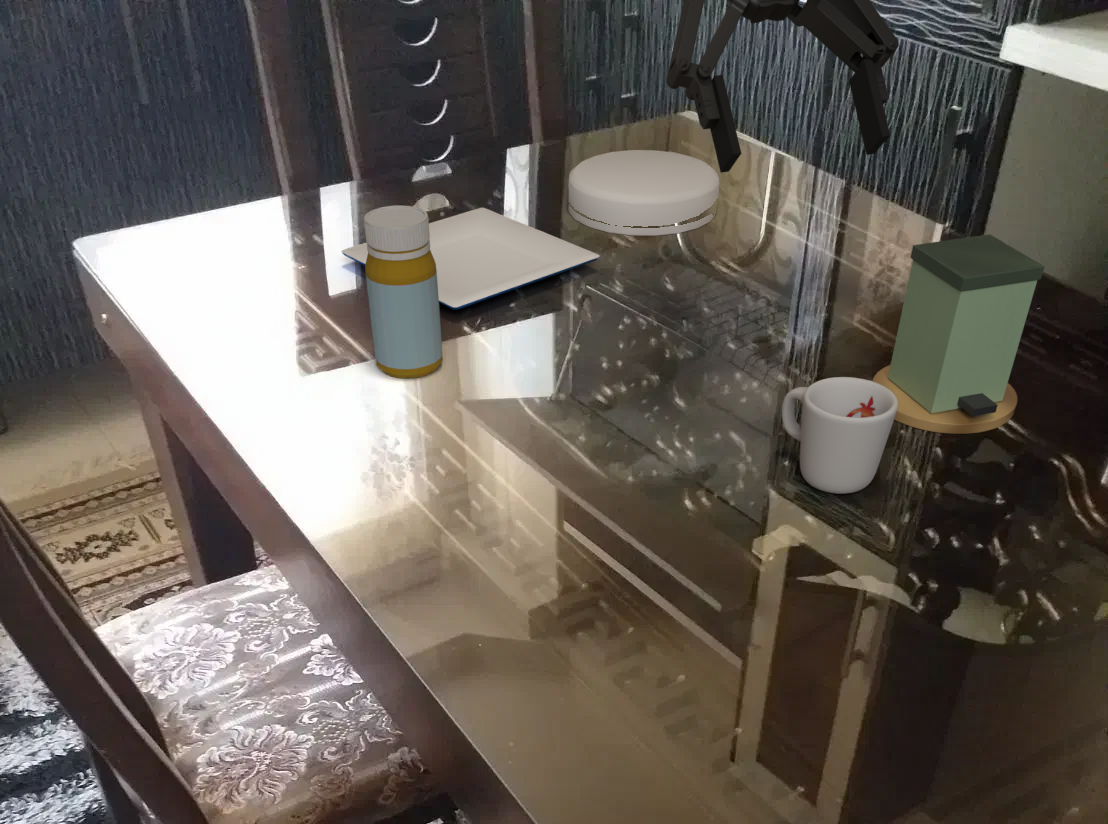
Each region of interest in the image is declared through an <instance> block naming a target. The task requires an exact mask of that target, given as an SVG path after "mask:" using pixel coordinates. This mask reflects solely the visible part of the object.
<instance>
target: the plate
mask: <svg viewBox="0 0 1108 824" xmlns="http://www.w3.org/2000/svg"><path fill="white" fill-rule="evenodd" d="M429 233H430V238H429V240H430V251H431V253H432V255H433V258H434V260H435V263H436V270H437V283H438V297H439V304H441V305H444V306H445V307H447V308H449V309H451V310H460V309H464V308H466V307H469V306H471V305H474V304H477V303H480V302H483V301H485V300H488V299H491V298H494V297H498V296H499V295H502V294H505V293H508V292H511V291H514V290H517V289H519V288H522V287H525V286H528V285H531V284H534V283H536V282H539V281H543V280H544V279H547V278H550V277H554V276H556V275H559V274H561V273H562V274H563V273H564V272H567V271H570V270H573V269H576V268H578V267H581V266H584V265H586V264H590V263H592V262H596V261H597V260H598V259H599V258H600V257H601V256H600V254H598V253H596V252H593V251H591V250H588V249H586V248H584V247H581V246H579V245H576V244H575V243H572V242H570V241H566V240H565V239H563V238H562V239H561V238H559V237H557V236H554V235H552V234H549V233H547V232H544V231H542V230H539V229H537V228H535V227H532V226H529V225H528V224H524V223H523V222H520V221H517V220H515V219H513V218H510V217H507V216H505V215H503V214H501V213H498V212H495V211H493V210H491V209H488V208H486V207H478V208H475V209H472V210H468V211H465V212H462V213H459V214H455V215H452V216H448V217H446V218H442V219H439V220H436V221H432V222H429ZM341 254H343V256H345V257H347V258H349V259H351V260H353V261H355V262H356V263H358V264H361V265H363V266H365V264H366V260H367V255H368V251H367V242H363V243H361V244H357V245H354V246H350V247H346V248H345V249H342V250H341Z"/></svg>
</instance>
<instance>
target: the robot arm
mask: <svg viewBox="0 0 1108 824" xmlns="http://www.w3.org/2000/svg"><path fill="white" fill-rule="evenodd" d="M726 1H727V2H728V3H729V5H728V7H727V9H726V11H725V13H724V15H723V17H722V19H721V20H720V22H719V24H718V27H717V29H716V30H715V32H714V34H713V36H712V38H711V40H710V41H709V44H708V46H707V48H706V49H705V52H704V53H703V55H702V57H701V59H700V61H699V63H694V62H692V60H693V59H692V58H693V54H694V49H695V45H696V41H697V36H698V31H699V27H700V23H701V19H702V13H703V9H704V6H705V0H682V8H681V13H680V17H679V20H678V21H679V22H678V26H677V29H676V34H675V39H674V40H675V41H674V44H673V48H672V51H671V56H670V61H669V65H668V70H667V74H666V79H665V80H666V81H665V82H666V85H667V87H668V88H669V89H672V90H676V89H678V88H679V87H681V88H684V89H685V90H684V92H685V93H684V95H685V96H686V98H687V99H688V100H689V101H694V106H695V110H696V114H697V117H698V122H699V125H700V126H701V128H702V130H710V134H711V138H712V142H713V147H714V151H715V155H716V159H717V163H718V168H719V172H720V173H721V174H723V173H729V172H731V169H732V168H733V167H734V165H735V163H736V162H737V161H738V159H739V158H740V156H741V155H742V150H741V146H740V142H739V136H738V133H737V129H736V124H735V121H734V117H733V112H732V108H731V103H730V99H729V94H728V90H727V87H726V83H725V82H726V81H725V79H724V74H717V75H713V77H712V74H713V72H714V70H715V68H716V66H717V64H718V62H719V60H720V59H721V56H722V54H723V52H724V50H725V49H726V46H727V45H728V43H729V41H730V39H731V37H732V35H733V34H734V32H735V29H736V28H737V26H738V24H739V22H740V20H741V18H744V19H746V20H749V23H750V24H760V23H762V22H764V21H773V22H782V21H785V20H786V19H788V20H789V21H790V22H791V23H792V24H793V25H795V26H796V27H803V28H805V29H806V30H807V31H808V32H809V33H810V34H811V35H813V37H815V38H816V39H817V40H818V41H819V42H820V43H822V44H823V46H825V47H826V48H827V49H828V50H829V51H830V52H831V53H832V54H834V55H835V56H836V57H837V58H838V59H839V60H840V61H841V62H842V63H843V64H845V65H846V66H847V67H848V68H849V69H850V70H851V71H852V72H853V74H852V76H851V77H850V78H849V79H848V83H849V88H850V92H851V97H852V100H853V105H854V108H855V114H856V117H857V122H858V125H859V129H860V133H861V139H862V142H863V147H864V150H865V154H866V156H868V155H869V156H870V155H875V154H876V152H878V150H879V149H880V148H881V147H882V145H884V143H886V141H888V139H889V138H890V137H891V133H890V127H889V124H888V120H887V115H886V111H885V107H884V104H885V103H886V102H887V101H888V96H889V95H888V93H889V92H888V89H887V85H886V81H885V76H884V72H883V67H884V66H885V64H887V62H888V61H889V60H890V58H891V57H892V56H893V54H894V53H895V52H896V51H897V49H898V48H899V46H900V43H899V40H898V38H897V37H896V35H895V34H894V32H893V31H892V30H891V29H890V27H889V26H888V24H887V22H885V20H884V19H883V17H882V16H881V15H880V13H879V12H878V10H877V9H876V8H875V7H874V5H873V3H872V2H871V1H870V0H806V1H805V3H804V4H803V6H801V5H799V4H800V1H801V0H726Z"/></svg>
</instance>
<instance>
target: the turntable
mask: <svg viewBox="0 0 1108 824" xmlns="http://www.w3.org/2000/svg"><path fill="white" fill-rule="evenodd" d="M890 365H891V364H889V365H887V366H885V367H882V369H879V371H877V372H876V374H874V376H873V378H872V379H871V381H872V382H875V383H878V384H880V385H882V386H884V387H886V388H887V389H889V390H890V391H891V392H892V393H893V394H894V395H895V396H896V398H897V401H898V409H897V412H896V415H895V418H894V421H896V422H898V423H901V424H903V425H905V426H909V427H912V428H915V429H918V430H923V431H926V432H927V431H928V432H933V433H941V434H950V435H951V434H952V435H966V434H977V433H983V432H988V431H991V430H995V429H997V428H999V427H1002V426H1003V425H1006V424H1007V423H1008V422H1009V421H1010V420H1011V419H1012V417H1013V416H1014V414H1015V412H1016V408H1017V404H1018V395H1017V392H1016V390H1015V389H1014V388H1013V386H1012V385H1011V384H1010V383H1009V382H1008V383H1007V387H1006V390H1005V394H1004V397H1003V400H1002V401H998V402H995V403H996V404H997V405H998V406H997V409H996V412H995V413H989V414H984V415H978V416H971V415H970V414H969V413H967V412H966V411H965V410H964V409H962V408H959V409H954V410H948V411H943V412H937V413H930V412H929V411H928V410H926V409H925V408H924V407H923V406H922V405H920V404H919V403H918V402H917V401H915V400H914V399H913V398H912V397H911V396H909V395H908V394H907V393H906V392H905V391H903V390H902V389H901V388H900V387H898V386H897V385H896V384H895V383H894V382H892V381H891V380H890V379H889V378H888V375H889V370H890Z"/></svg>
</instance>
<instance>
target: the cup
mask: <svg viewBox="0 0 1108 824" xmlns="http://www.w3.org/2000/svg"><path fill="white" fill-rule="evenodd" d="M797 400H799V401H800V402H801V404H802V405H801V407H802V408H801V410H802V411H801V426H800V425H799V423H798V422H797V419H796V413H795V411H796V409H795V408H796V403H797ZM897 409H898V401H897V398H896V396H895V395H894V394H893V393H892V392H891V391H890V390H889V389H887V388H886V387H884V386H882V385H880V384H878V383H875V382H872V380H868V379H864V378H859V377H852V376H838V377H837V376H835V377H827V378H824V379H820V380H817V381H815V382H813V383H812V384H810V385H809V386H808V387H807V386H799V387H795V388H792V389H791V390H789V391H788V392H787V393H786V395H785V396H784V398H783V401H782V406H781V421H782V425H783V427H784V430H785V431H786V433H787V434H788V435H789V436H790V437H791V438H793V439H795V440H796V441H798V442H800V445H799V446H800V448H799V468H800V474H801V475H802V478H803V479H804V481H805V482H806V483H807V484H808V485H810V486H811V487H813V489H817V490H819V491H822V492H825V493H830V494H837V495H842V494H843V495H844V494H853V493H857V492H860V491H862V490H864V489H865V488H866V487H867V486H869V484H871V482H872V481H873V479H874V477H875V475H876V473H877V471H878V469H879V465H880V462H881V460H882V456H883V455H884V450H885V448H886V446H887V445H886V444H887V442H888V439H889V436H890V433H891V430H892V427H893V424H894V421H895V420H894V418H895V415H896V412H897Z"/></svg>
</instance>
